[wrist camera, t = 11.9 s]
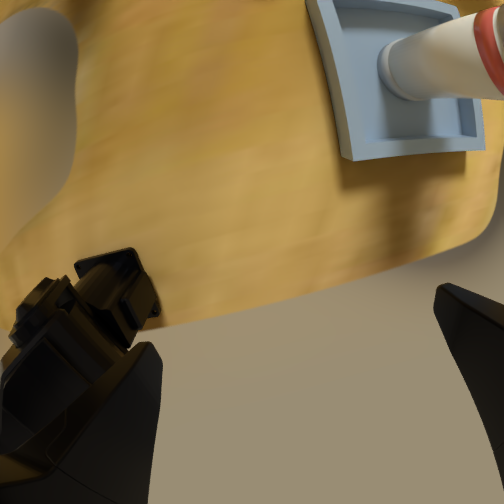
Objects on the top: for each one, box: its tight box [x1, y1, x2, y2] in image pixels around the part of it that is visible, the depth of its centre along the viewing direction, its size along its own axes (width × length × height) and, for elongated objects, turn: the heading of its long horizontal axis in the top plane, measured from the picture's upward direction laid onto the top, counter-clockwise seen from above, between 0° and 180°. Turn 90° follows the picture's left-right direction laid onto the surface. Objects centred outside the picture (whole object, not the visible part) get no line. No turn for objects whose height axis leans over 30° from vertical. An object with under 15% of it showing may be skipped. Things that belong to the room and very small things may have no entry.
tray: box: [305, 0, 485, 161], centre depth 14 cm, size 12×12×2 cm
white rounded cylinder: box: [377, 4, 504, 101], centre depth 9 cm, size 5×5×13 cm
